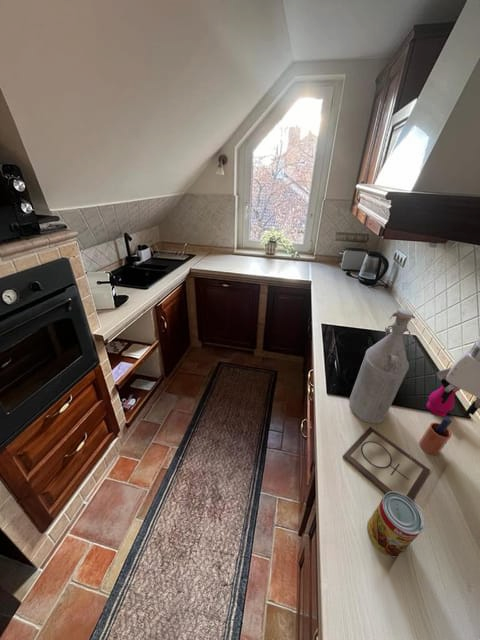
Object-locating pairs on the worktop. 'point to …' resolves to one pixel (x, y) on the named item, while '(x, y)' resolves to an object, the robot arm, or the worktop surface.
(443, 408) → the pepper mill
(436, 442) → the pen cup
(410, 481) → the framed female symbol sign
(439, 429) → the marker
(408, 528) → the canned food
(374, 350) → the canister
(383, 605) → the worktop surface
